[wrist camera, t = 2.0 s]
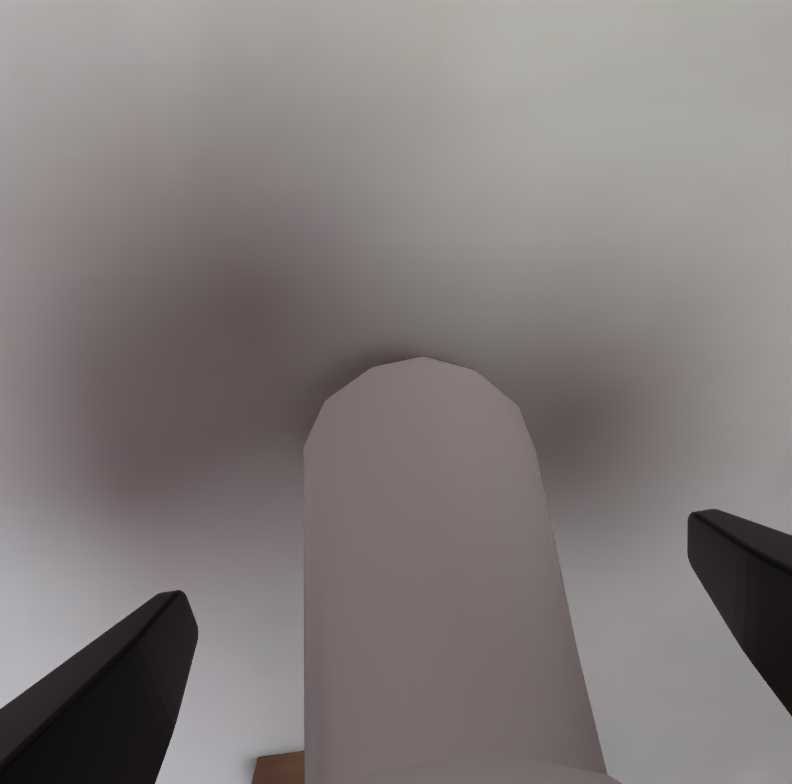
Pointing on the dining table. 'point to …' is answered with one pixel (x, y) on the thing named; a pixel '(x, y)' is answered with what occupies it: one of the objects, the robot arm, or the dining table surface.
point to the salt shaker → (435, 592)
